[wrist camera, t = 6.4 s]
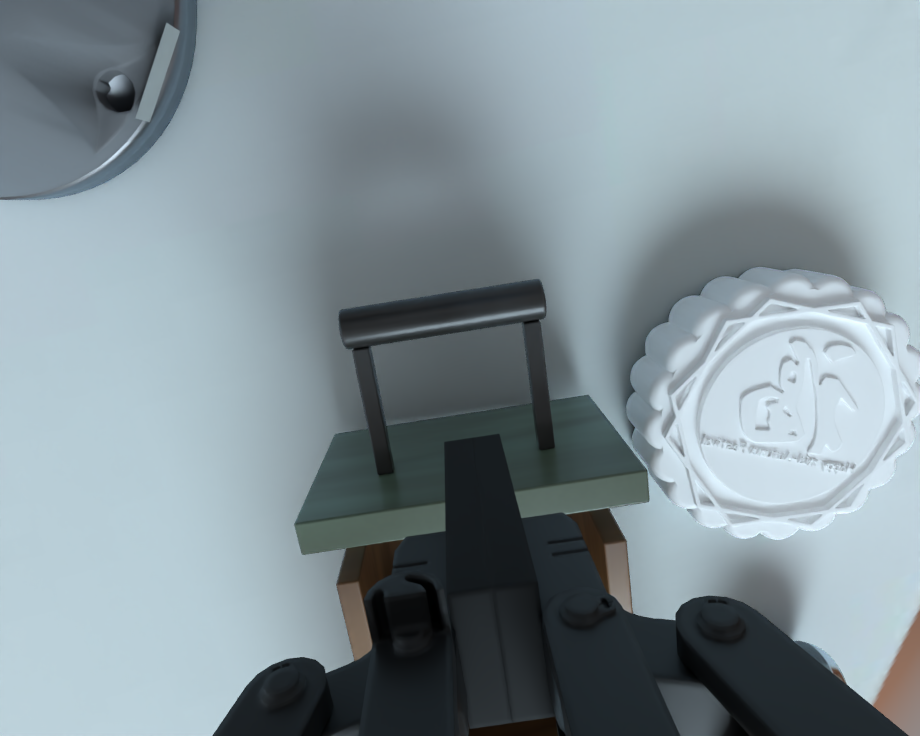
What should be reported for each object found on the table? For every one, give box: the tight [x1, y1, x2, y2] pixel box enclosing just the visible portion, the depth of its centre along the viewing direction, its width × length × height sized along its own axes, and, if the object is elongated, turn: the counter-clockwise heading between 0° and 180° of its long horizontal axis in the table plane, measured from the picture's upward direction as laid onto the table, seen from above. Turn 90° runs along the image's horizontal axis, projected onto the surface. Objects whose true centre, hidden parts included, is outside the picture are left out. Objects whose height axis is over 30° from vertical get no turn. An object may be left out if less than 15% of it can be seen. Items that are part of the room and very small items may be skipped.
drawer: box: [294, 279, 649, 736], centre depth 24 cm, size 21×12×8 cm, turn 9°
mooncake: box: [626, 267, 920, 540], centre depth 26 cm, size 12×12×4 cm
